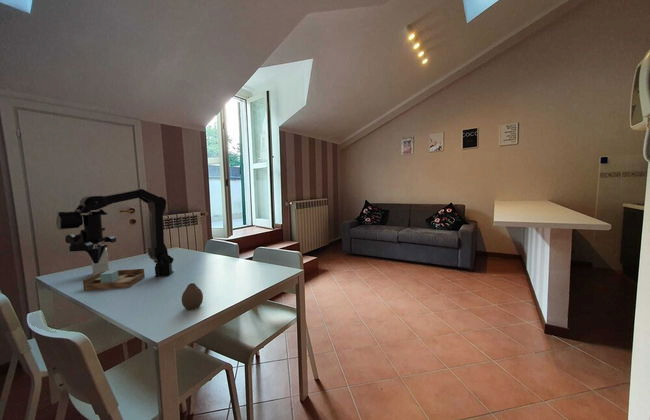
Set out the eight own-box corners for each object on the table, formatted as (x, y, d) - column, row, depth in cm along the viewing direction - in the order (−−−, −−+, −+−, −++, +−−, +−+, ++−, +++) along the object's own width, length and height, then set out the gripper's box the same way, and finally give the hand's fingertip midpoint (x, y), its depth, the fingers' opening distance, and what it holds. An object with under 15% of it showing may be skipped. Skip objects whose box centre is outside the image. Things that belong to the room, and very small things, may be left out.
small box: (109, 274, 135) (106, 249, 134) (92, 277, 131) (90, 251, 130) (109, 270, 141) (107, 247, 140) (93, 273, 137) (91, 248, 136)
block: (118, 278, 120) (117, 270, 120) (112, 282, 116) (111, 273, 116) (107, 279, 120) (106, 271, 119) (100, 283, 115) (100, 274, 115)
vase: (187, 304, 98) (185, 281, 97) (206, 303, 99) (205, 280, 98) (178, 312, 91) (177, 288, 91) (199, 311, 92) (197, 287, 91)
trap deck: (144, 277, 129) (144, 268, 129) (129, 287, 116) (128, 277, 116) (103, 280, 126) (103, 271, 126) (83, 290, 113) (82, 280, 113)
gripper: (87, 224, 116) (90, 258, 117) (51, 230, 98) (55, 271, 99) (115, 223, 118) (118, 257, 119) (84, 229, 99) (88, 269, 101)
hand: (96, 263), depth 109 cm, fingers closed
